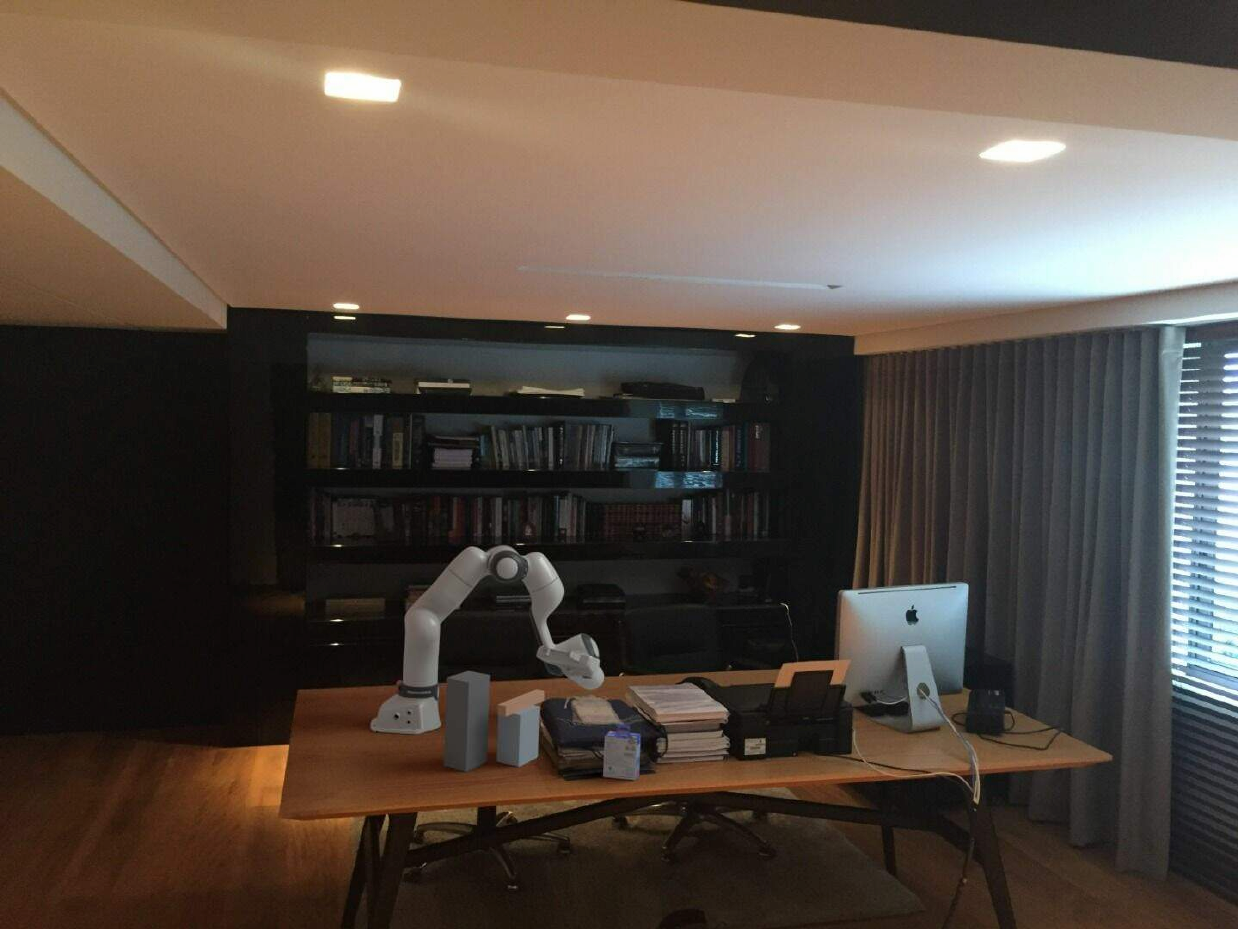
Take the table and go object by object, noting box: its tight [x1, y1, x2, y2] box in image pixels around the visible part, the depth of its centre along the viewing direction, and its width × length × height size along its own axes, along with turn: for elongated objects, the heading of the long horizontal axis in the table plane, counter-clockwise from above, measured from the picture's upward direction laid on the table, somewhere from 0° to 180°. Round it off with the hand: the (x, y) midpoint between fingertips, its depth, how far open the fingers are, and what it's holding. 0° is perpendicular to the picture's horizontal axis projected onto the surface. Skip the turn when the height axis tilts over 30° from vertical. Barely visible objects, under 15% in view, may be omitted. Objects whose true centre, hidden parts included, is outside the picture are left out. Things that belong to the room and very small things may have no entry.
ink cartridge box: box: [602, 724, 642, 781], centre depth 285 cm, size 10×6×14 cm, turn 78°
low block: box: [496, 705, 541, 768], centre depth 295 cm, size 10×8×16 cm
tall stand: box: [443, 670, 491, 773], centre depth 289 cm, size 10×8×26 cm
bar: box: [496, 688, 545, 717], centre depth 296 cm, size 20×3×3 cm, turn 150°
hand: (556, 650), depth 311 cm, fingers open, 8 cm apart
